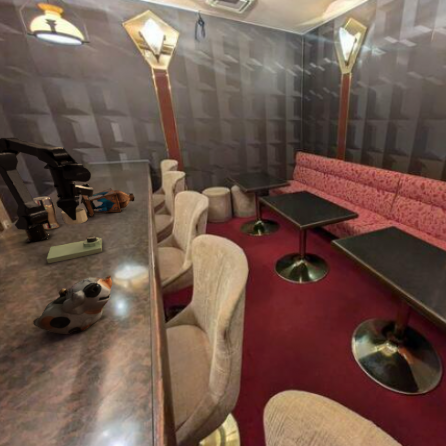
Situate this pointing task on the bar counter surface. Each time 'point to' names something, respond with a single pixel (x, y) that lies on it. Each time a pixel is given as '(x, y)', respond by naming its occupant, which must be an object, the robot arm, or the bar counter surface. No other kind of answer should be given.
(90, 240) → the tare button
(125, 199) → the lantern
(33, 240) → the robot arm
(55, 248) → the scale
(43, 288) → the bar counter surface
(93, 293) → the lucky cat figurine
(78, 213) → the bowl
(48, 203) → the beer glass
